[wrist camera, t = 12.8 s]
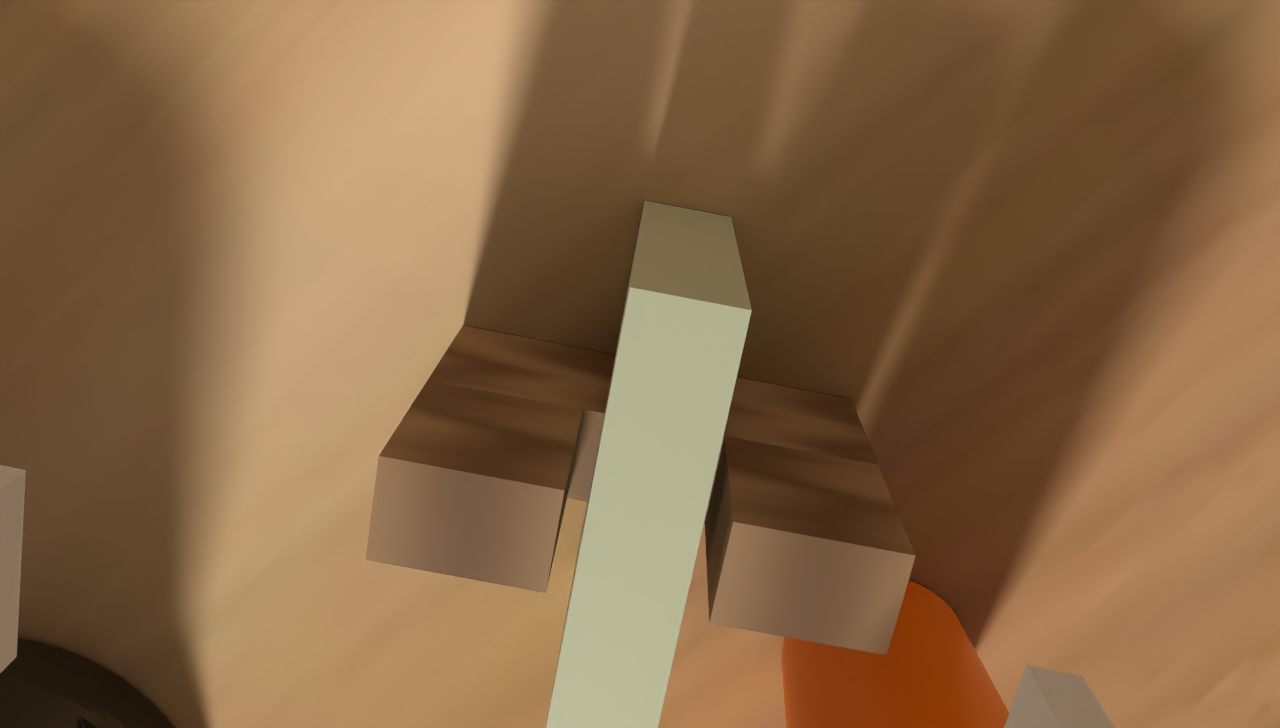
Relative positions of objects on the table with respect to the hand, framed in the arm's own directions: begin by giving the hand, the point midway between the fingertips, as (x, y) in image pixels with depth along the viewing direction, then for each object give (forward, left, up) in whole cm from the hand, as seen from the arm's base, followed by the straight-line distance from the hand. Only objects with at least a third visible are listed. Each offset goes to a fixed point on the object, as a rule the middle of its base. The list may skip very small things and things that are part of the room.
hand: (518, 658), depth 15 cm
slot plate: (+2, -5, -26) cm, 27 cm away
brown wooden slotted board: (+2, -5, -26) cm, 27 cm away
